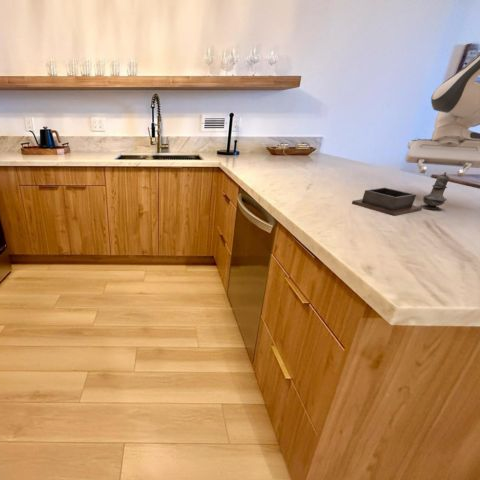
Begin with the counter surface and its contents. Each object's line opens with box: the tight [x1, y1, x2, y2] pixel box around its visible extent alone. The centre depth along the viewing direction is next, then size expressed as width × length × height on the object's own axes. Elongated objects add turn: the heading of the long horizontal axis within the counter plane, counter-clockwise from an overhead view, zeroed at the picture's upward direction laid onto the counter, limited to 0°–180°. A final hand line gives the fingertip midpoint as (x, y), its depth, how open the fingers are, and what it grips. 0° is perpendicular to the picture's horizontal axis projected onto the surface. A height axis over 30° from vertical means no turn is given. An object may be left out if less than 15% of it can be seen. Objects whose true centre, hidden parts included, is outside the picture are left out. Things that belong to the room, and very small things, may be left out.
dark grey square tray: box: [351, 187, 423, 217], centre depth 96 cm, size 14×14×5 cm
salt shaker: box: [420, 172, 450, 212], centre depth 93 cm, size 6×6×12 cm
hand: (441, 173), depth 95 cm, fingers open, 8 cm apart
